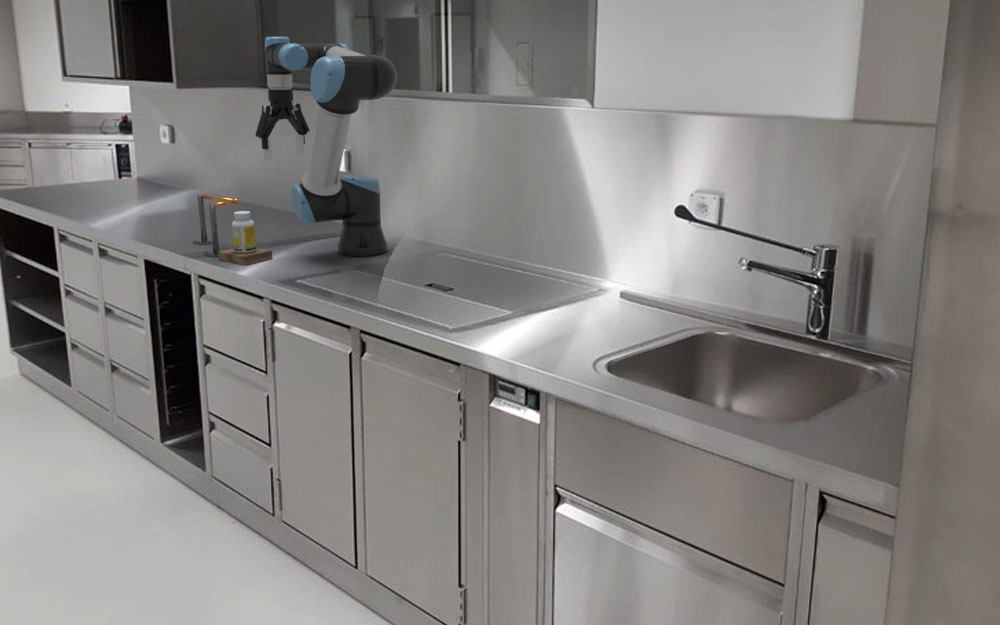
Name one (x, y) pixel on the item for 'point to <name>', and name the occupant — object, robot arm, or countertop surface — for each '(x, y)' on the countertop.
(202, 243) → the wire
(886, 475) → the countertop surface
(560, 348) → the countertop surface
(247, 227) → the pill bottle
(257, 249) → the pad
